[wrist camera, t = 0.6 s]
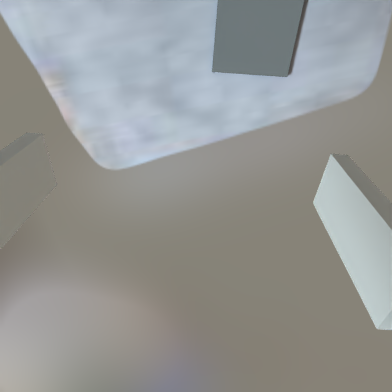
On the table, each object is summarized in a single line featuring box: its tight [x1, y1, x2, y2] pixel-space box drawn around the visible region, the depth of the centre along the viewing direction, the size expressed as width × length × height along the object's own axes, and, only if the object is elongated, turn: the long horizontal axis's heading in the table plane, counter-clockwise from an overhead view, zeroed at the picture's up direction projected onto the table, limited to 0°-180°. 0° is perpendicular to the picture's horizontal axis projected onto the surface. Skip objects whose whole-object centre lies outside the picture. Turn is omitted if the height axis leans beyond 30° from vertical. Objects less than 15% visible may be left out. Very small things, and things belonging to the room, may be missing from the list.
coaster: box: [212, 0, 304, 77], centre depth 31 cm, size 9×9×1 cm
